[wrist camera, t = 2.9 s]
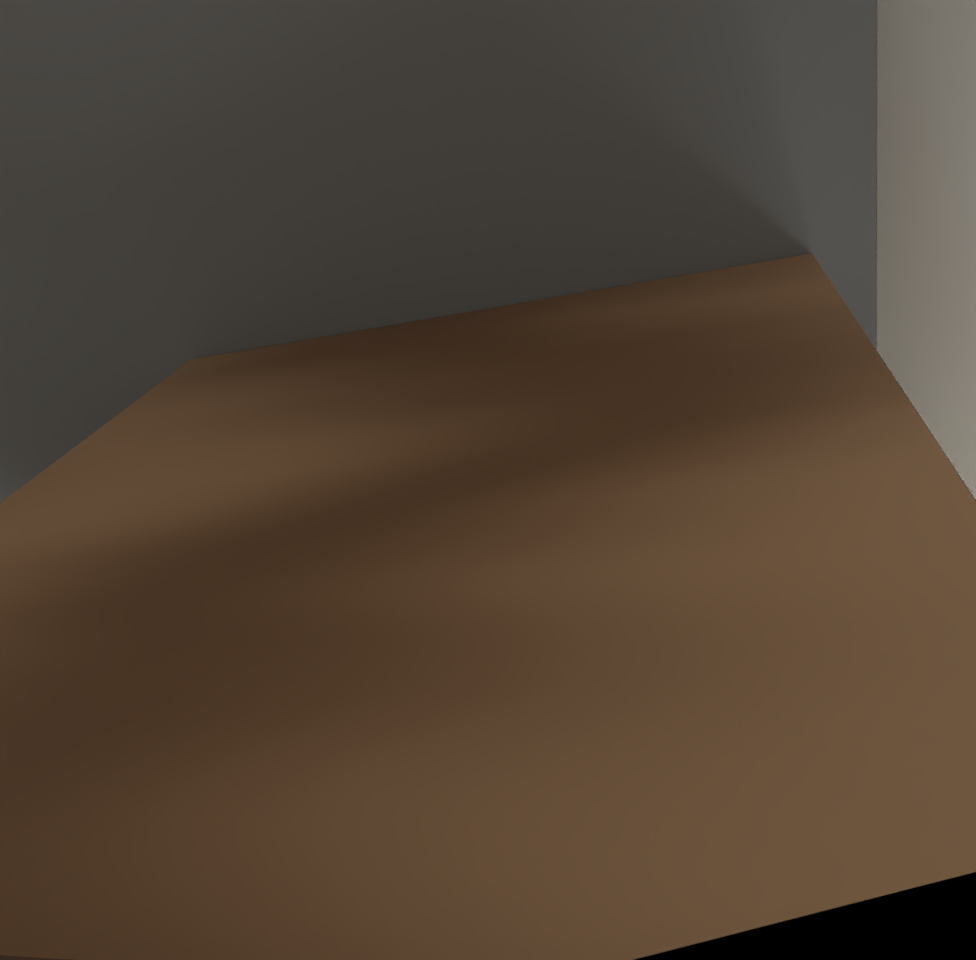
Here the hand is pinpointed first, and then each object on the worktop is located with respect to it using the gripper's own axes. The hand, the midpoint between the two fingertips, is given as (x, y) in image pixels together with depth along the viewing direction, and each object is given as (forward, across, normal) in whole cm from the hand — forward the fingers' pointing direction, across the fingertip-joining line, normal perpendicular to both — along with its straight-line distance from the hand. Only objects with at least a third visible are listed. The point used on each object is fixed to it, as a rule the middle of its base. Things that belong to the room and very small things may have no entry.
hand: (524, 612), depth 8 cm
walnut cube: (+1, 0, 0) cm, 1 cm away
